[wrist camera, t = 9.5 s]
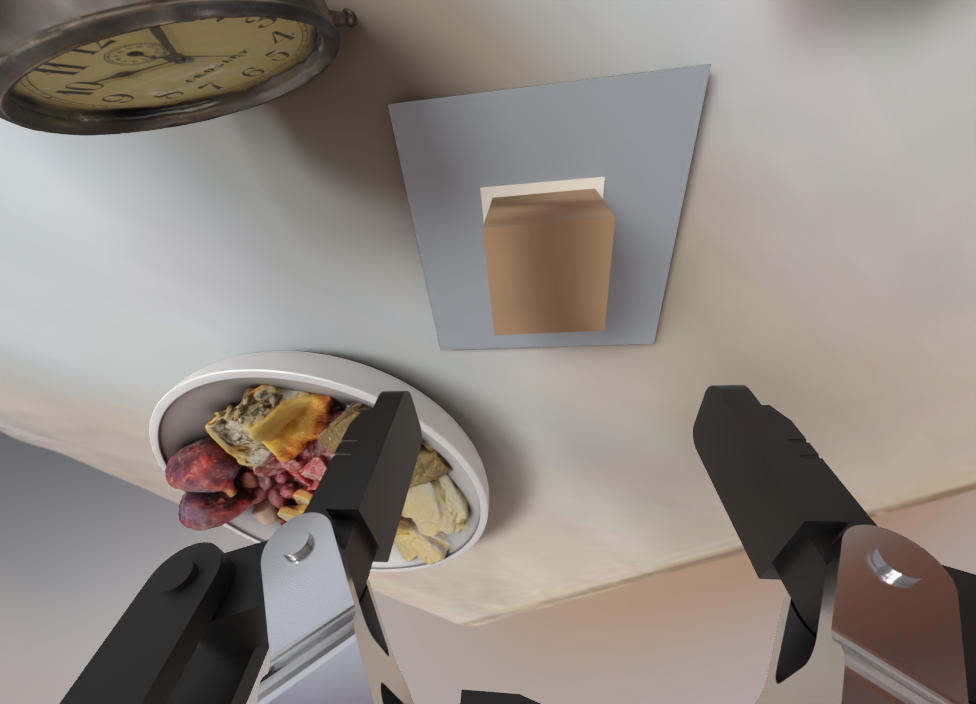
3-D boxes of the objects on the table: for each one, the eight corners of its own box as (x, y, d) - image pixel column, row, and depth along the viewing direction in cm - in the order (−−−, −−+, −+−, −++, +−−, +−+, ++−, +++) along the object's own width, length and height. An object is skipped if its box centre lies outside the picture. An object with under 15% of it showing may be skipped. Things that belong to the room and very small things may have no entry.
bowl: (452, 309, 26) (428, 380, 19) (513, 529, 43) (510, 605, 36) (120, 350, 31) (15, 416, 25) (291, 531, 48) (254, 598, 42)
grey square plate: (442, 343, 27) (440, 350, 26) (392, 103, 18) (386, 104, 18) (650, 337, 25) (654, 344, 24) (703, 65, 16) (712, 63, 16)
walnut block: (500, 288, 23) (494, 335, 19) (492, 197, 20) (482, 227, 15) (588, 283, 22) (604, 330, 18) (594, 188, 19) (615, 217, 15)
